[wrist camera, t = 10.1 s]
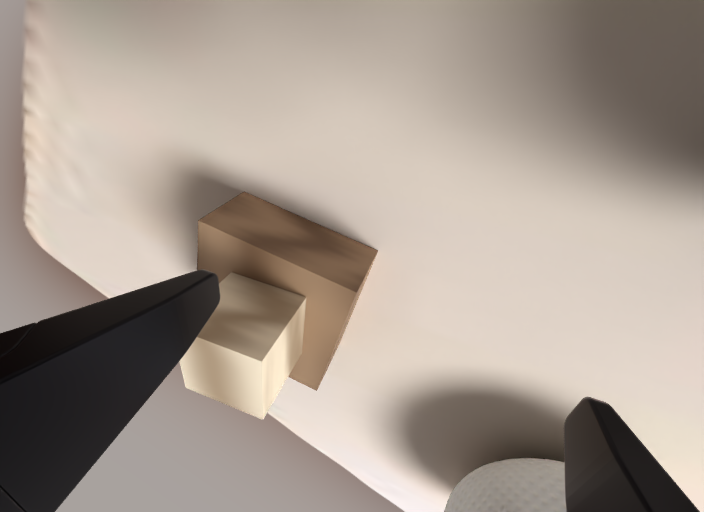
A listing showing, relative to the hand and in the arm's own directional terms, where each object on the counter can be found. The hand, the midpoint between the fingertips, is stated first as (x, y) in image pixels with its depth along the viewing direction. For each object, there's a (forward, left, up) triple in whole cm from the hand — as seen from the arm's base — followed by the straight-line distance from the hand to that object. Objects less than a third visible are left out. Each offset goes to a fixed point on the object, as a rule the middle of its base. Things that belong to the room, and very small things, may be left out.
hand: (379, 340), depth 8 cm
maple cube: (+8, +10, -8) cm, 15 cm away
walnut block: (+8, +10, -13) cm, 19 cm away
